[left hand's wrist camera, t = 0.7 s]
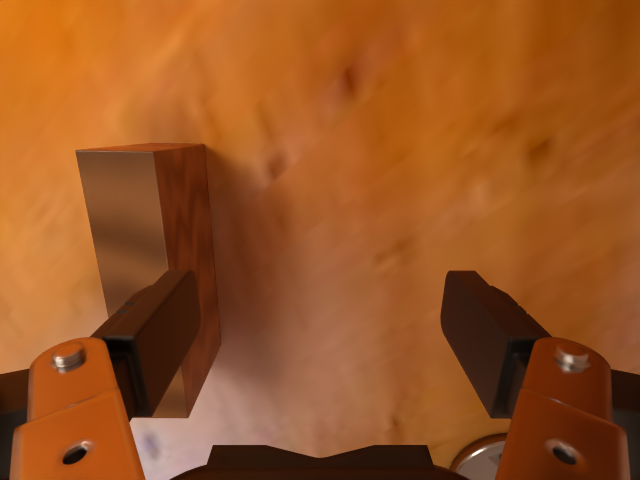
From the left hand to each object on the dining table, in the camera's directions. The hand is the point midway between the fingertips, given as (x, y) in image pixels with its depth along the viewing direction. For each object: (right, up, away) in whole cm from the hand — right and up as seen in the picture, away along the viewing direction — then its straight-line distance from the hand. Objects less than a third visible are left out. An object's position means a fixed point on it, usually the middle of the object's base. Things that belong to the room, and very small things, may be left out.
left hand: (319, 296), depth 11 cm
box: (-16, 0, +30) cm, 34 cm away
